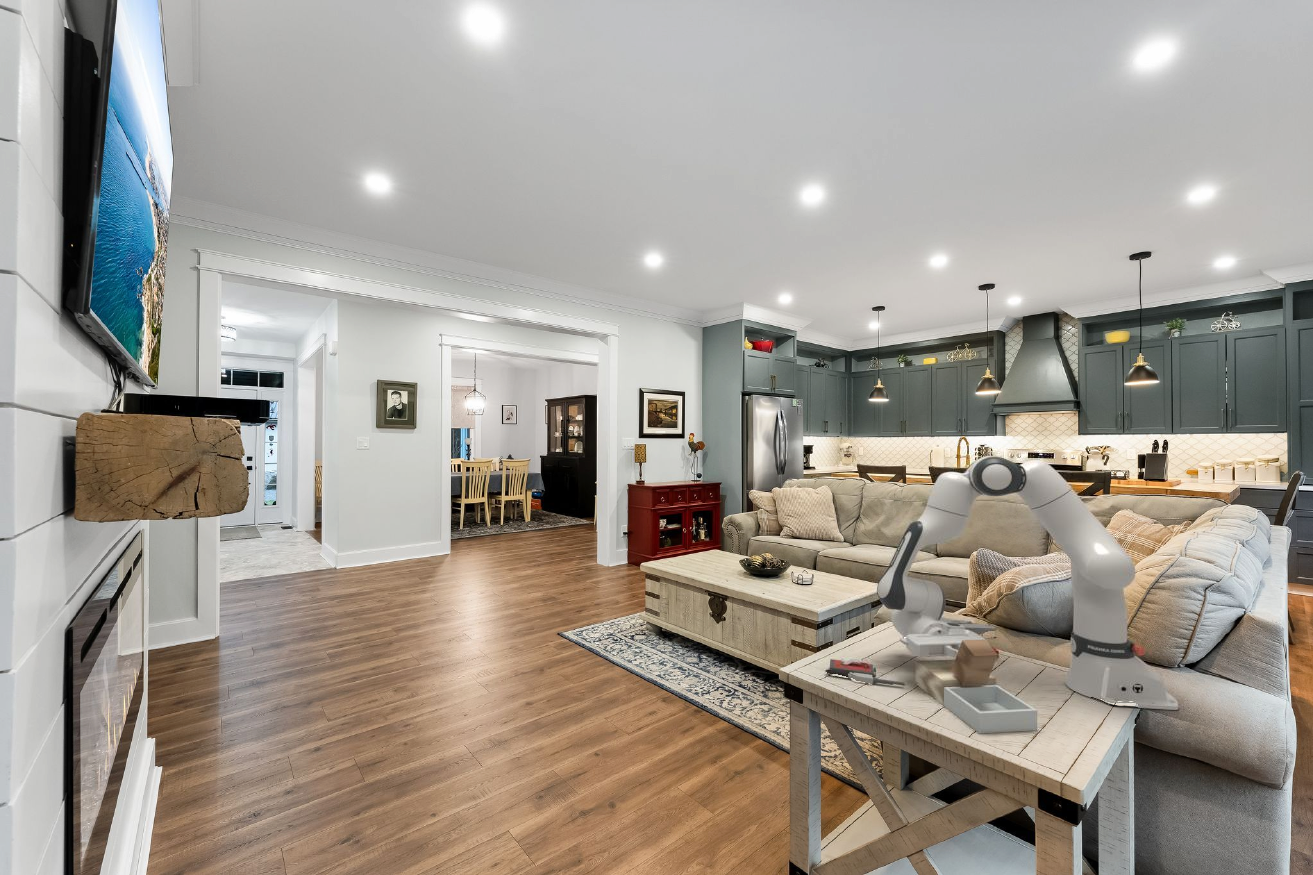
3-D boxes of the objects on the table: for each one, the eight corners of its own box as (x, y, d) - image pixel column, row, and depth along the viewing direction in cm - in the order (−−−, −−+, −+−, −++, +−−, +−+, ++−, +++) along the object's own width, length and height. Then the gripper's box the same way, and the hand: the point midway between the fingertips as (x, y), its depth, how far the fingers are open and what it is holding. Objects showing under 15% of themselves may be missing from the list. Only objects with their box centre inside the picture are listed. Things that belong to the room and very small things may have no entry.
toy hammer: (945, 646, 170) (906, 614, 199) (944, 659, 170) (906, 625, 199) (1028, 649, 168) (977, 616, 198) (1028, 661, 168) (977, 626, 198)
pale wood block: (915, 683, 152) (915, 661, 152) (964, 681, 154) (964, 659, 154) (942, 704, 140) (943, 680, 140) (995, 702, 142) (996, 678, 142)
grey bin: (943, 705, 140) (943, 687, 140) (996, 702, 141) (996, 684, 141) (979, 733, 127) (979, 713, 127) (1037, 730, 128) (1037, 710, 128)
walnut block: (951, 670, 143) (962, 640, 139) (973, 669, 144) (985, 639, 140) (962, 686, 139) (974, 655, 134) (985, 685, 139) (998, 655, 135)
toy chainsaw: (824, 680, 155) (905, 691, 148) (825, 664, 155) (905, 674, 148) (826, 667, 163) (902, 677, 157) (826, 652, 163) (902, 661, 157)
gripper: (896, 626, 155) (926, 645, 141) (967, 623, 157) (1002, 642, 144) (896, 649, 155) (925, 670, 142) (966, 646, 158) (1002, 667, 144)
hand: (965, 656), depth 143 cm, fingers closed
